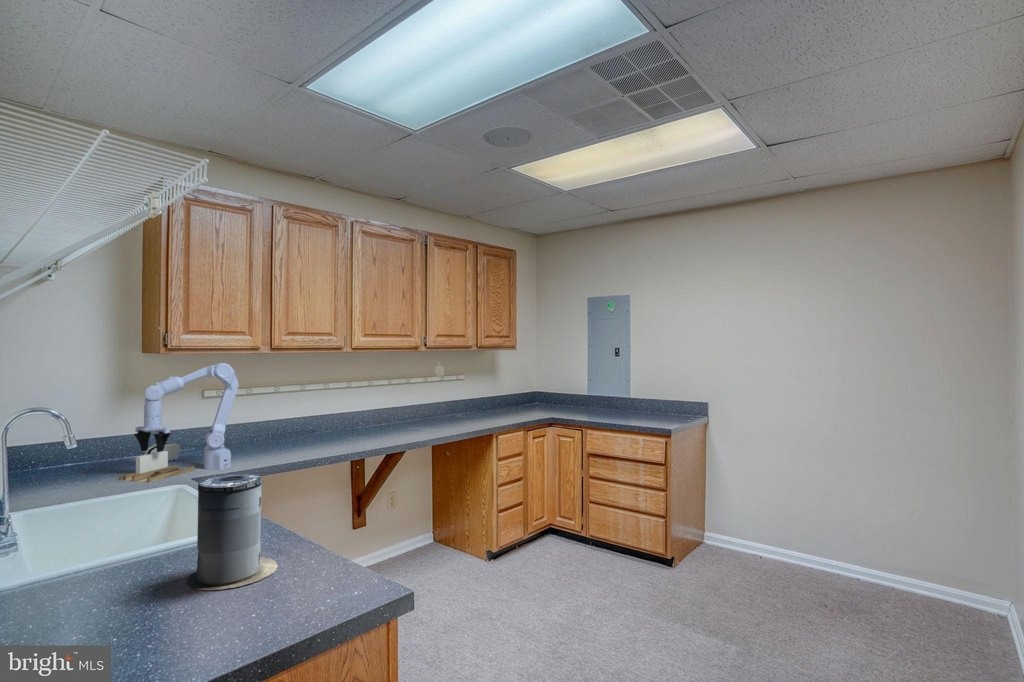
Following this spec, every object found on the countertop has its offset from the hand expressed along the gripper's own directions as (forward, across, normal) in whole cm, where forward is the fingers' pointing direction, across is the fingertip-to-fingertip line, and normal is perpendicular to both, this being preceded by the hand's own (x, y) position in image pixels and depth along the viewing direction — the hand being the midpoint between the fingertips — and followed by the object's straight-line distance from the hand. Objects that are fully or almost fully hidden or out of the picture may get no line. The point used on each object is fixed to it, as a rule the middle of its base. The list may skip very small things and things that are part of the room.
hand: (152, 451), depth 204 cm
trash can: (+10, +98, -68) cm, 120 cm away
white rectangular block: (+9, 0, 0) cm, 9 cm away
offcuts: (+9, +7, 0) cm, 11 cm away
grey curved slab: (+10, -20, +22) cm, 32 cm away
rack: (+10, +3, 0) cm, 10 cm away
